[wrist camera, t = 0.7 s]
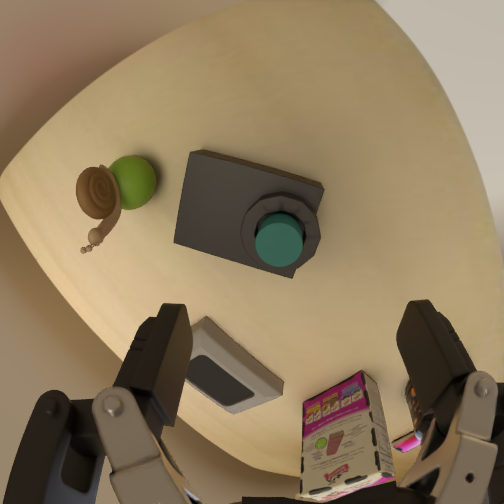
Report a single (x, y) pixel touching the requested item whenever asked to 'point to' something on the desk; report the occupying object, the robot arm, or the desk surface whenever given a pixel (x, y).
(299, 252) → the push button
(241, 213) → the black button base
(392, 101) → the desk surface
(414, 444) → the smartphone
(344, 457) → the candy bar box
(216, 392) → the grey bevelled block
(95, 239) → the snail figurine
